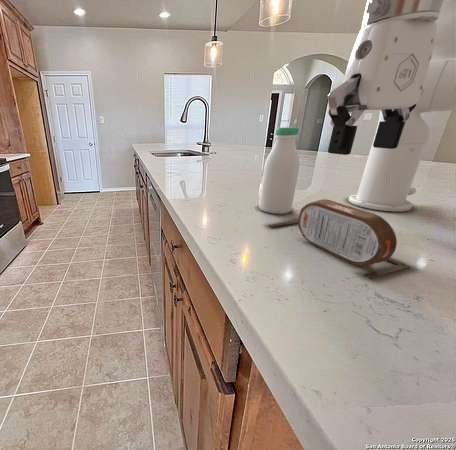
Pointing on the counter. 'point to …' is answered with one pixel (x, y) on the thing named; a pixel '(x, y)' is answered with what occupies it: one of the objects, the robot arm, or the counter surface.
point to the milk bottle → (280, 173)
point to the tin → (347, 232)
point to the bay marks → (370, 275)
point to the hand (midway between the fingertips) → (361, 150)
